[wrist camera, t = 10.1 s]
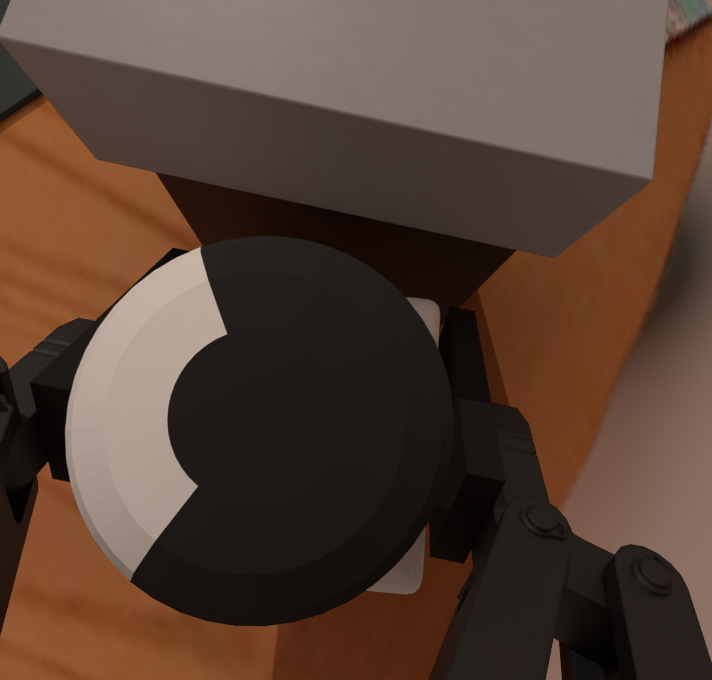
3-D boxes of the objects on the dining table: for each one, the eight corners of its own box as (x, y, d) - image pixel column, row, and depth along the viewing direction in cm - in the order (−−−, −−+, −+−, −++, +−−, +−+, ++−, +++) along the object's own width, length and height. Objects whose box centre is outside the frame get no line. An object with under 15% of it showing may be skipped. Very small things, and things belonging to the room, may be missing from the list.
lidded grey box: (437, 351, 27) (654, 180, 9) (215, 304, 26) (-7, 36, 9) (459, 223, 28) (682, -140, 11) (250, 177, 28) (119, -269, 10)
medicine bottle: (403, 348, 20) (513, 211, 8) (388, 539, 18) (492, 717, 7) (221, 328, 19) (57, 157, 8) (191, 520, 18) (-67, 669, 6)
